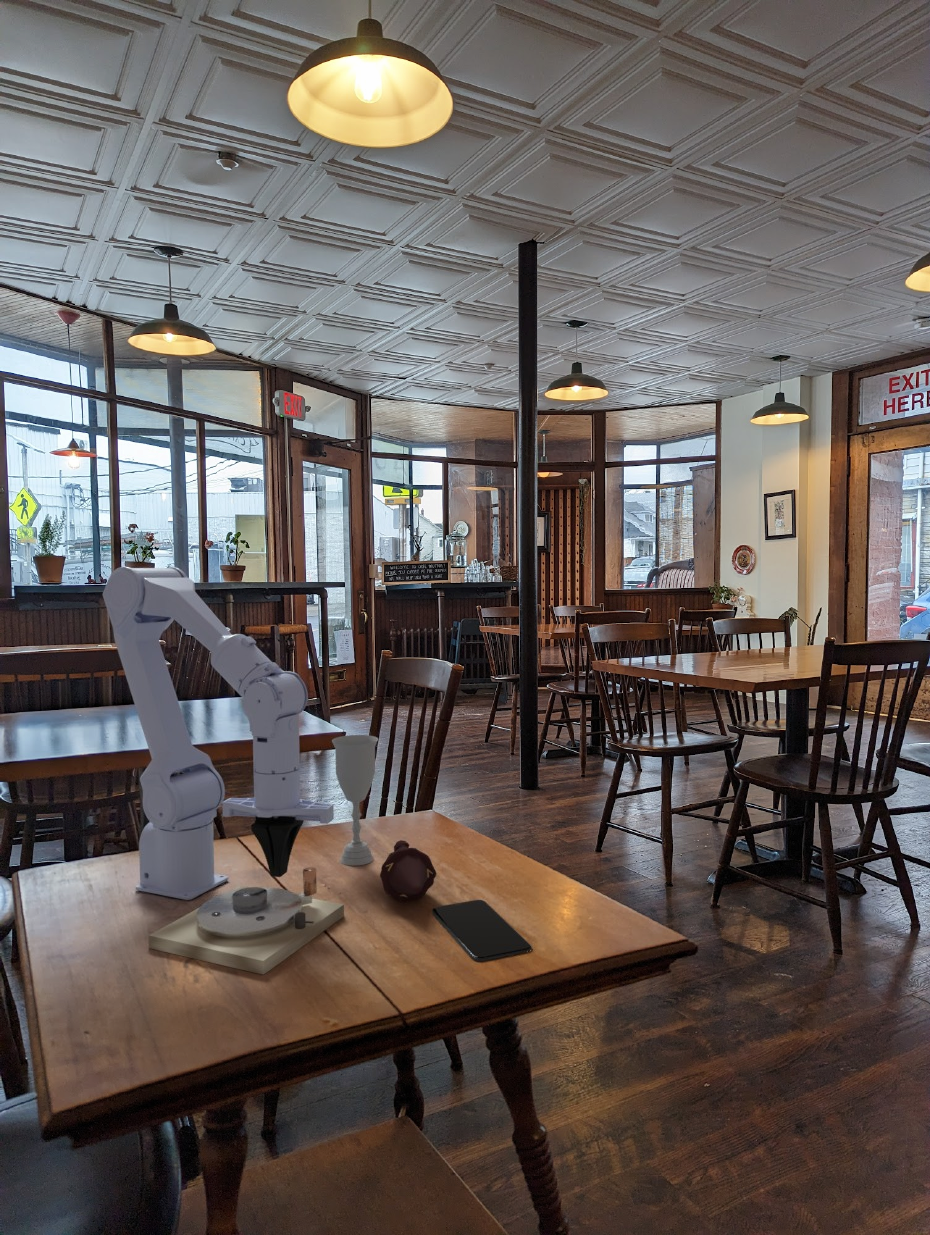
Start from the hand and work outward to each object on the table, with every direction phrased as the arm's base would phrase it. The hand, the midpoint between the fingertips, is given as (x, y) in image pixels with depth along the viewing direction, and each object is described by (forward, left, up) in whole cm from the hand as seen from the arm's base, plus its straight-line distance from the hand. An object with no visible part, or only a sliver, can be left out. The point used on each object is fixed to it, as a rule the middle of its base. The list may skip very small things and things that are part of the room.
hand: (278, 874), depth 104 cm
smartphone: (+26, +3, -5) cm, 27 cm away
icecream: (+14, +9, -4) cm, 17 cm away
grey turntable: (+2, -6, -2) cm, 7 cm away
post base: (+1, -7, -4) cm, 9 cm away
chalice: (0, +19, -4) cm, 19 cm away
